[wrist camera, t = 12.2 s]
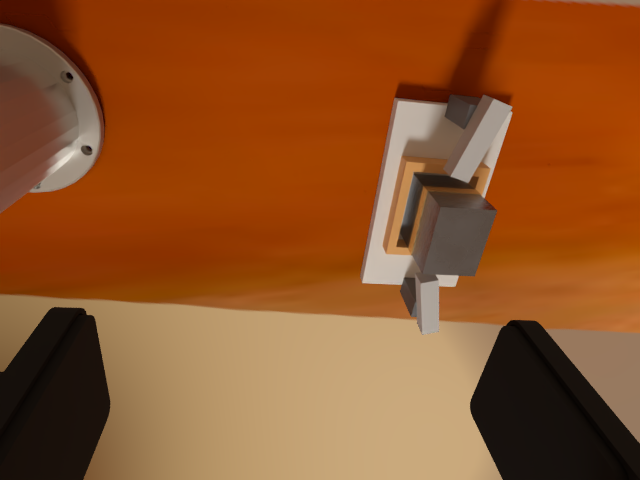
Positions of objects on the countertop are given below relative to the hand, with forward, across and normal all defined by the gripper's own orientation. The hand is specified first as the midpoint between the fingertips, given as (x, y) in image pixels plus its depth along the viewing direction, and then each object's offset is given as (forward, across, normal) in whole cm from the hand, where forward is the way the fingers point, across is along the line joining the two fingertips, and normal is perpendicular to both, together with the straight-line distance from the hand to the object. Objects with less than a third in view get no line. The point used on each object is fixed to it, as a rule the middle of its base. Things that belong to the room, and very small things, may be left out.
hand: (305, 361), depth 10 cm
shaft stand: (+28, -14, +8) cm, 32 cm away
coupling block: (+27, -14, +8) cm, 31 cm away
